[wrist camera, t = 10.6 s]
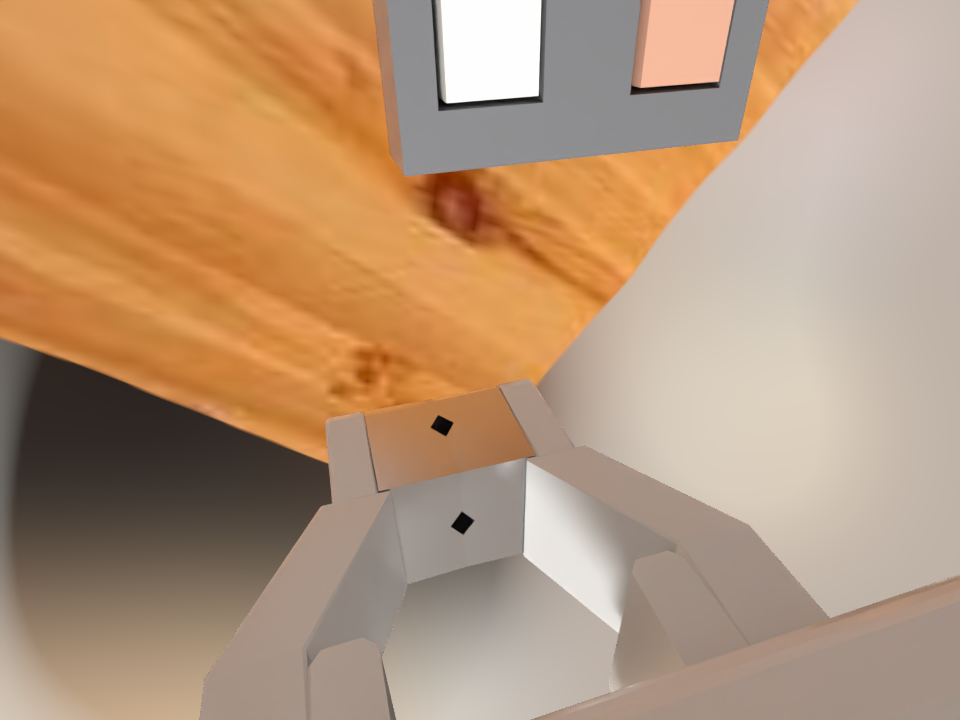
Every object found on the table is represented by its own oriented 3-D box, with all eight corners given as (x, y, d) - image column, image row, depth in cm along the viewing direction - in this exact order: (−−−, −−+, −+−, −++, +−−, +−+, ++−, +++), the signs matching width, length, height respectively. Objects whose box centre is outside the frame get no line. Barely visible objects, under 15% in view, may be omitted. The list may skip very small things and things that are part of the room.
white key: (426, -15, 28) (440, -15, 26) (520, -18, 29) (541, -19, 27) (434, 94, 31) (446, 103, 28) (519, 87, 32) (538, 95, 29)
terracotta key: (624, -22, 30) (654, -22, 28) (704, -24, 31) (739, -25, 29) (614, 80, 33) (640, 87, 31) (688, 75, 34) (718, 81, 32)
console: (361, -99, 27) (374, -114, 23) (730, -99, 32) (794, -111, 28) (390, 154, 34) (404, 176, 30) (691, 124, 39) (738, 140, 35)
